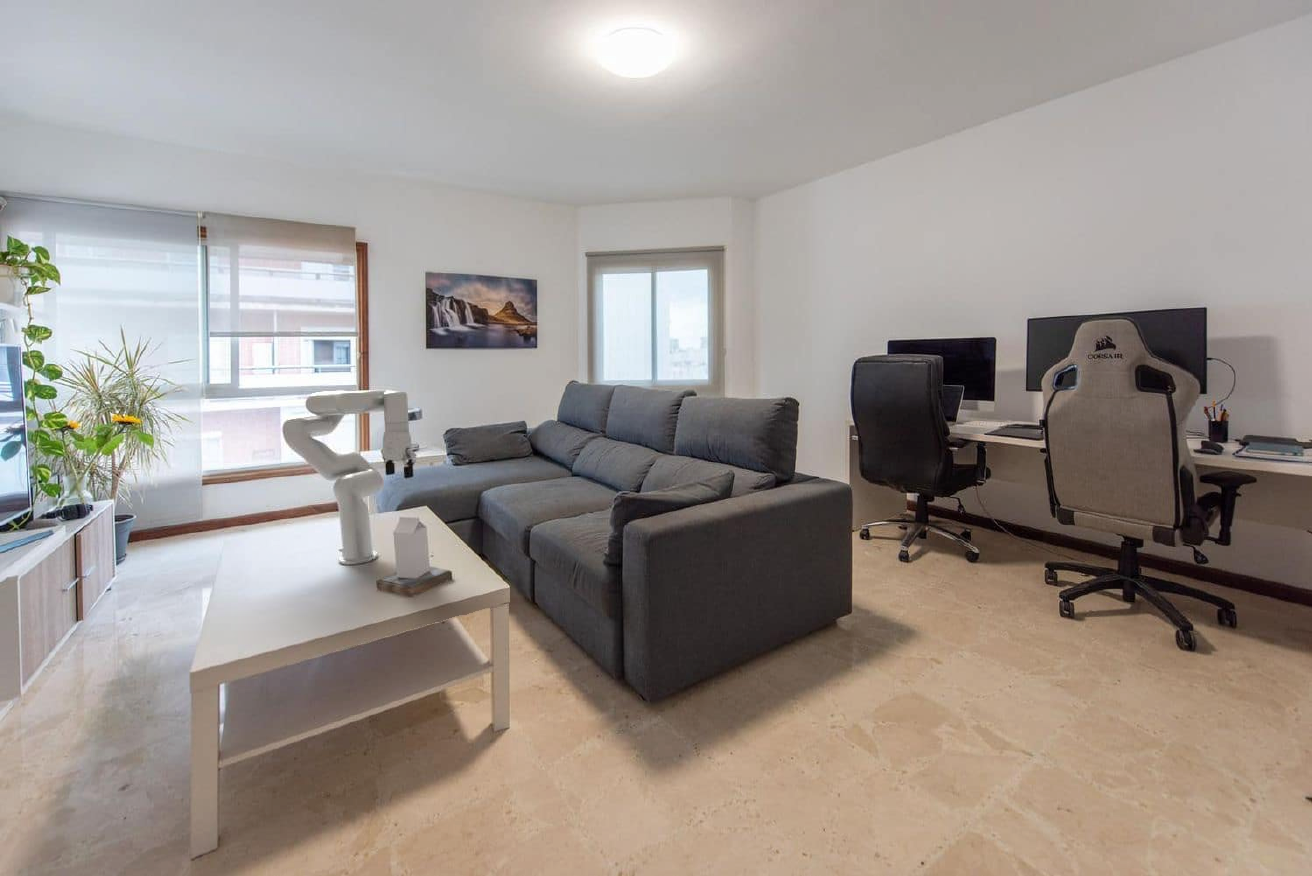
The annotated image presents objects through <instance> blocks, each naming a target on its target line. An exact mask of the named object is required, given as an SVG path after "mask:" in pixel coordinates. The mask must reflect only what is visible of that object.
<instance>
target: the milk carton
mask: <svg viewBox="0 0 1312 876" xmlns="http://www.w3.org/2000/svg"><path fill="white" fill-rule="evenodd" d="M398 518H399V519H398V522H397V524H396V526H395V528H394V530H393V531H392V532H393V533H392V534H393V545H394V557H395V569H396V572H397V577H399V578H413V579H417V578H418V577H420V576H422V575H424V574H425V573H427V572H429V571H430V567H431V566H430V554H429V543H428V539H429V538H428V530H427V529H428V528H427V526H426V525H425V524H424V523H422V521H420V517H410V516H409V517H408V516H399V517H398Z"/></svg>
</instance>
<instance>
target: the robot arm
mask: <svg viewBox="0 0 1312 876" xmlns="http://www.w3.org/2000/svg"><path fill="white" fill-rule="evenodd" d="M408 402H409V401H408V394H407V392H405V391H403V390H401V391H400V390H389V389H371V390H357V391H348V390H334V391H333V390H332V391H320V392H319V391H318V392H315V393H311V394H310V395H309V396H308V397H307V398H306V400H305V408H306V409H307V411H308V412H309V413H308V414H306V413H305V414H299V415H294V416H291V417H289V418H288V419H286V420H285V421H284V422H283V424H282V429H281V430H282V436H283V439H284V440H285V441H284V442H286V444H287V446H288V447H289V448H290V449H291V450H292V451H293V452H294V453H296V454H297V455H299V456H300V457H301V458H303V459H304V460H305V461H306V462H307V464H308V465H310V466H311V467H312V468H313V469H314V470H315V471H316V472H317V473H318V474H319V475H320V476H321V477H322V478H323V479H325V480H326V481H329V482H331V481H334V484H333V493H334V497H335V500H336V502H337V503H336V504H337V509H338V516H339V525H340V535H341V544H342V547H339V549H338V551H339V552H341V553H342V555H341V556H340V557H339V558H338V562H339V563H340V564H342V565H348V566H349V565H359V564H360V565H361V564H363V563H367V562H371V561H373V560H375V559H377V558H378V556H379V555H378V552H377V551H376V550H373V540H372V532H371V530H372V529H371V520H370V519H371V518H370V511H369V507H368V505H367V504H366V502H365V501H364V500H363V499H364V498H367V497H370V496H373V495H377V494H379V493H380V492H381V491H382V490H383V489H384V484H385V483H384V478H383V476H382V475H381V473H380V472H379V471H378V470H377V469H376V468H375V467H374V466H373V465H372V464H371V463H370V462H369V461H368V460H367V459H366V458H364V457H363V456H362V455H361V454H360V453H357V452H354V451H343V452H335V451H333V450H332V449H331V448H329V446H328V445H327V444H325V443H324V442H322V441H320V440H318V439H316V438H314V437H319V436H327V435H329V434H332V433H333V432H334V431H335V430H336V429H337V427H338V426H339V424H340V423H341V422H342V420H343V418H344V417H345V416H348V415H355V414H356V415H357V414H361V415H362V414H369V413H370V414H371V413H378V412H379V413H380V412H383V414H384V415H383V417H384V431H383V437H382V449H381V450H380V453H381V455H382V459H383V463H384V465H385V466H384V467H385V475H386V476H390V475H395V472H396V470H395V469H396V468H395V462H402V463H403V465H404V466H403V477H404V479H409V478H414V465H415V463H416V459H417V453H416V452H414V451H413V445H412V439H411V433H410V423H409V406H408V405H409V404H408ZM394 461H395V462H394ZM372 559H373V560H372Z"/></svg>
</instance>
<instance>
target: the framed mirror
mask: <svg viewBox="0 0 1312 876" xmlns="http://www.w3.org/2000/svg"><path fill="white" fill-rule="evenodd" d="M447 580H448V581H450V580H453V572H452V570H450V569H445V568H439V567H434V566H430V571H429V572H427V573H425V574H424V575H422V576H420V577H418V578H417V579H413V578H399V577H397V571H395V572H393V573H390V574H388V575H386V576H383V577H380V578H378V580H376V581H375V583H376V589H377V588H378V589H377V590H381V591H386V592H391V593H395V594H399V595H402V594H403V596H406V595H407V596H406V597H411V598H413V597H415V596H418V595H419V594H422V593H424V592H426V591H429V590H430V588H431V589H433V588H435V587H437V586H439V584H440V585H442V584H444V583H446V582H448V581H447ZM445 581H446V582H445ZM443 582H444V583H443ZM441 583H442V584H441ZM432 587H433V588H432ZM414 595H415V596H414ZM412 596H413V597H412Z"/></svg>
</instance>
